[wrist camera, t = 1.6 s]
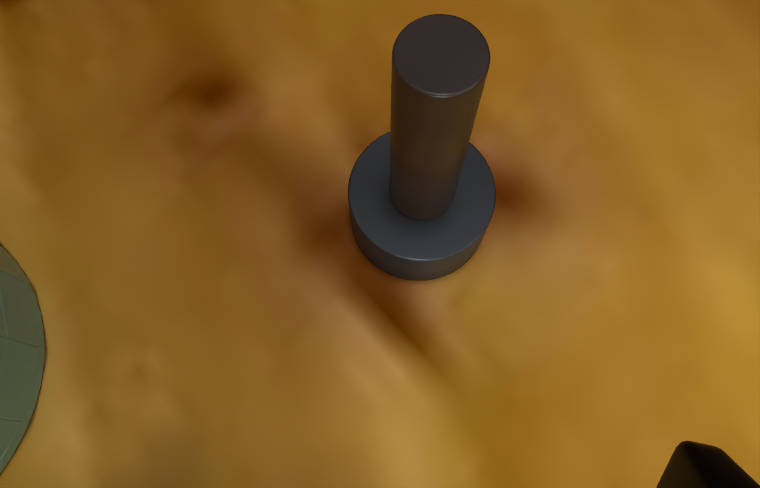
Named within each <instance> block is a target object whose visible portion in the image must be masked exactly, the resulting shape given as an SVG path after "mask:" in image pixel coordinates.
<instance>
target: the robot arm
mask: <svg viewBox="0 0 760 488" xmlns="http://www.w3.org/2000/svg"><path fill="white" fill-rule="evenodd" d="M657 488H760V485H758V484H757V483H756V482H755V481H754V480H753V479H752V478H751V477H750V476H749V475H748V474H747V473H746V472H745V471H744V470H743V469H742V468H741V467H740V466H739V465H738V464H736V463H735V462H734V461H733V460H732V459H731V458H730V457H729V456H728V455H727V454H726V453H725V452H724V451H723V450H721V449H720V448H718V447H715V446H712V445H707V444H702V443H697V442H692V441H683V442H681V443H680V444H679V445H678V446H677V447H676V449H675V451H674V453H673V455H672V457H671V459H670V461H669V463H668V465H667V467H666V469H665V471H664V473H663V475H662V477H661V479H660V481H659V483H658V485H657Z"/></svg>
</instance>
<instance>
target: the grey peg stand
mask: <svg viewBox="0 0 760 488" xmlns="http://www.w3.org/2000/svg"><path fill="white" fill-rule="evenodd" d="M489 65H490V51H489V47H488V44H487V42H486V40H485V38H484V36H483V35H482V33H481V32H480V31H479V30H478V29H477V28H476V27H475V26H474V25H472V24H471V23H469V22H468V21H466V20H464V19H462V18H459V17H456V16H452V15H445V14H435V15H428V16H424V17H421V18H419V19H417V20H415V21H413V22H411V23H410V24H408V25H407V26H406V27H405V28H404V29H403V30H402V31H401V32H400V34H399V35H398V37H397V38H396V41H395V43H394V46H393V51H392V84H391V132H388V133H386V134H384V135H382V136H381V137H379V138H378V139H376V140H375V141H373V142H372V143H371V144H370V145H369V146H368V147H367V148H366V149H365V150H364V151H363V152H362V154H361V155H360V156H359V158H358V159H357V161H356V163H355V165H354V167H353V169H352V172H351V175H350V179H349V185H348V200H349V208H350V215H351V222H352V229H353V233H354V236H355V239H356V241H357V243H358V245H359V247H360V248H361V250H362V252H363V253H364V254H365V255H366V257H367V258H368V259H369V260H370V261H371V262H372V263H374V264H375V265H376V266H377V267H379V268H380V269H382V270H383V271H385V272H387V273H389V274H391V275H394V276H397V277H399V278H404V279H409V280H430V279H436V278H439V277H443V276H445V275H447V274H450V273H452V272H454V271H455V270H457V269H459V268H460V267H461V266H462V265H464V264H465V263H466V262H467V261H468V260H469V259H470V258H471V257H472V256H473V254H474V253H475V251H476V250H477V248H478V246H479V244H480V242H481V240H482V238H483V236H484V234H485V231H486V229H487V227H488V225H489V223H490V220H491V218H492V215H493V212H494V207H495V200H496V190H495V183H494V178H493V175H492V172H491V170H490V167H489V166H488V164H487V162H486V160H485V159H484V157H483V156H482V155H481V153H480V152H479V151H478V150H477V149H476V148H475V147H474V146H473V145H472V144H471V143H469V139H470V136H471V132H472V128H473V125H474V121H475V117H476V114H477V110H478V106H479V102H480V99H481V95H482V91H483V88H484V84H485V80H486V76H487V73H488V69H489Z"/></svg>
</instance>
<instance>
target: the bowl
mask: <svg viewBox="0 0 760 488" xmlns="http://www.w3.org/2000/svg"><path fill="white" fill-rule="evenodd" d="M44 342H45V339H44V331H43V323H42V317H41V313H40V310H39V306H38V302H37V299H36V296H35V294H34V291H33V289H32V287H31V285H30V282H29V280H28V278H27V277H26V275H25V274H24V272H23V271H22V269H21V268H20V266H19V265H18V263H17V262H16V261H15V260H14V259H13V257H12V256H11V255H10V254H9V253H8V252H7V251H6V250H5V249H4V248H3V247H2V246H1V245H0V473H1V472H2V470H3V469H4V467H5V466H6V464H7V463H8V462H9V460H10V459H11V457H12V456H13V454H14V452H15V450H16V448H17V446H18V445H19V443H20V441H21V439H22V437H23V435H24V433H25V431H26V429H27V426H28V424H29V421H30V419H31V416H32V414H33V411H34V409H35V405H36V401H37V398H38V394H39V390H40V387H41V381H42V374H43V367H44Z"/></svg>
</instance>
